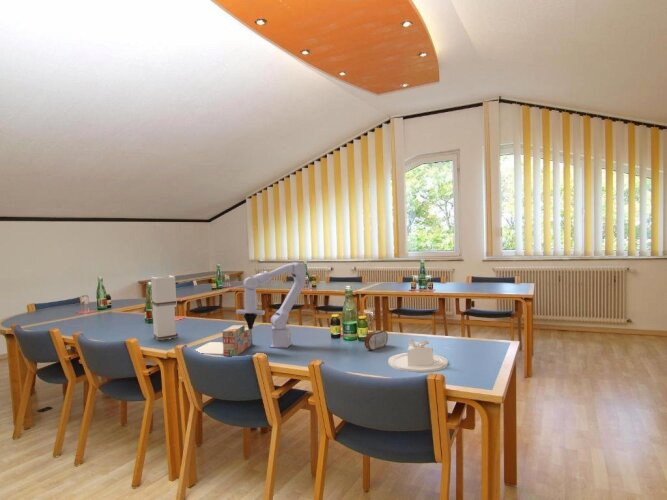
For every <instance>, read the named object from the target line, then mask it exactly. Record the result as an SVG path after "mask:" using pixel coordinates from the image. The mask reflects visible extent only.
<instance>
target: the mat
mask: <svg viewBox="0 0 667 500" xmlns="http://www.w3.org/2000/svg"><path fill="white" fill-rule="evenodd" d="M194 350H196V351H198V352H200V353H204V355H223V341H222V342H220V341H217V342H215V341H214V342H213V341H209V342H207V343H205V344H203V345H200V346H199V347H197V348H196V349H194Z"/></svg>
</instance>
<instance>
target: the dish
mask: <svg viewBox="0 0 667 500" xmlns="http://www.w3.org/2000/svg"><path fill="white" fill-rule="evenodd" d="M407 343H408V348H407V352H403V353H397V354H394V355H391V356H390V357H389V358H388V365H389V366H390V367H391V368H393V369H396V370H399V371H404V372H411V373H413V372H414V373H431V372H436V371H440V370H443V369H444V368H447V366H448V365H449V361H448V359H447V358H445V357H443V356H442V355H438V354H435V353H434V348H433V347H430V346H428V345H429V344H430V341H429V340H422V341H414V339H410V338H409V339H408V340H407Z"/></svg>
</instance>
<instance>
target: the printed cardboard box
mask: <svg viewBox="0 0 667 500" xmlns="http://www.w3.org/2000/svg"><path fill="white" fill-rule="evenodd" d="M222 342H223V354H222V355H223V356H224V357H236V356H238V355H239V354H241V353H242V352H244V351H245V350H246V349H248V348H249V347H251V346H253V330H252V329H248V326H245V325H244V324H237V325H236V324H232V325H231V326H229V327H227V328H226V329H224V330H222ZM235 355H236V356H235Z"/></svg>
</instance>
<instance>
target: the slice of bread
mask: <svg viewBox="0 0 667 500" xmlns="http://www.w3.org/2000/svg"><path fill="white" fill-rule="evenodd" d="M388 339H389V337H388V333H387V331H385V330H383V329H377V330H374V331H371V332H368V333H367V335H366V336H365V339H364V348H365V349H367V350H370V351H375V350H378V349H382V348H384V347H385V346H386V345H387V343H388Z"/></svg>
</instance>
